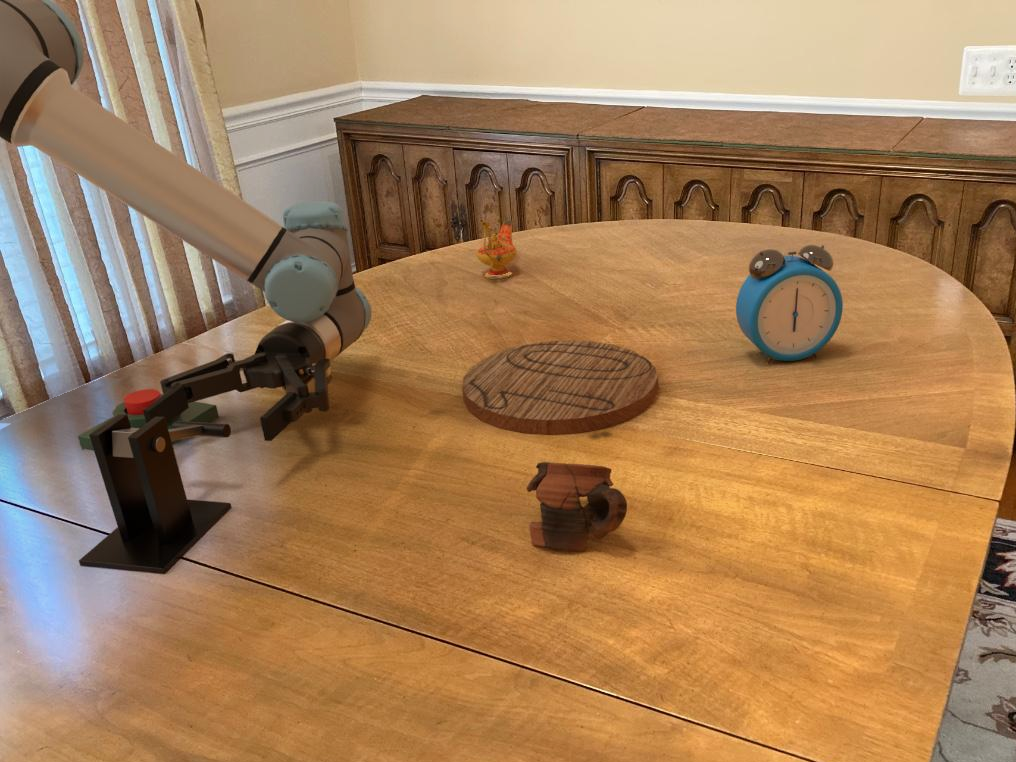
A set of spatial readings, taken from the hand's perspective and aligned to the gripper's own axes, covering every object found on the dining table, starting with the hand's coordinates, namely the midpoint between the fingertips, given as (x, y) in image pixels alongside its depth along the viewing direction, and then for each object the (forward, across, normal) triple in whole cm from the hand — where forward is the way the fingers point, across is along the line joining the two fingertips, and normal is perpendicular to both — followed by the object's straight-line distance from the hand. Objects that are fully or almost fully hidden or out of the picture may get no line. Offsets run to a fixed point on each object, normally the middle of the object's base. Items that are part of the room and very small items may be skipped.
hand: (206, 425), depth 104 cm
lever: (+7, 0, +1) cm, 7 cm away
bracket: (+11, 0, -7) cm, 13 cm away
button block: (-10, +15, -7) cm, 19 cm away
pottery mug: (+3, -41, -7) cm, 42 cm away
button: (-10, +15, -4) cm, 18 cm away
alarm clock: (-44, -60, -7) cm, 75 cm away
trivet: (-29, -32, -7) cm, 43 cm away
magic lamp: (-76, -10, -7) cm, 77 cm away
